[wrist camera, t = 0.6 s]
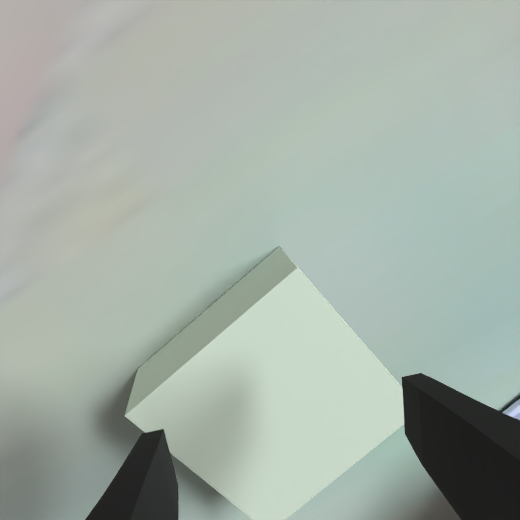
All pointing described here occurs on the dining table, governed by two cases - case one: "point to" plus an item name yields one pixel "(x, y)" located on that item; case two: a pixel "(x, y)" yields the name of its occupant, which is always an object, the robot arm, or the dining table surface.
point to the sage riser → (268, 393)
